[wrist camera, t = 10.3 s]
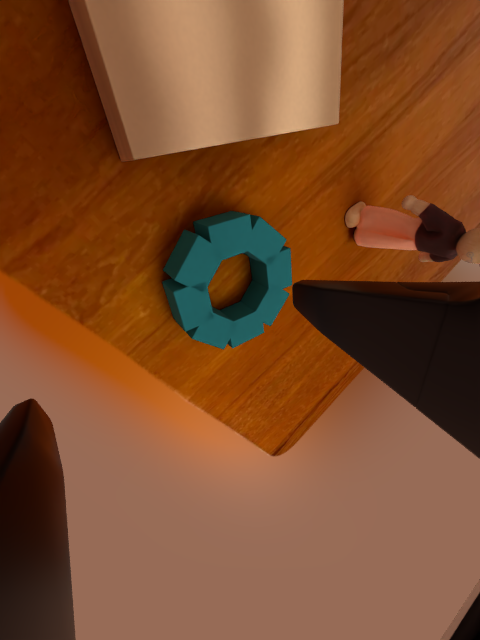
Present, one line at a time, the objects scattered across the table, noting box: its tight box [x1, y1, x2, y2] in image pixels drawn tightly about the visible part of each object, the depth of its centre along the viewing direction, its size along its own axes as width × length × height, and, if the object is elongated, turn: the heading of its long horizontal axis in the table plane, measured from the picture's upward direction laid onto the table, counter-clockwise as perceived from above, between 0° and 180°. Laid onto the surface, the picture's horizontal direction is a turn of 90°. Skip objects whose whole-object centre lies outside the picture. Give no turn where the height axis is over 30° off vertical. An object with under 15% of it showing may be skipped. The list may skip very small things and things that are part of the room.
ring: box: [162, 211, 292, 349], centre depth 21 cm, size 10×10×2 cm
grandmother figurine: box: [345, 195, 480, 265], centre depth 24 cm, size 8×4×13 cm, turn 55°
